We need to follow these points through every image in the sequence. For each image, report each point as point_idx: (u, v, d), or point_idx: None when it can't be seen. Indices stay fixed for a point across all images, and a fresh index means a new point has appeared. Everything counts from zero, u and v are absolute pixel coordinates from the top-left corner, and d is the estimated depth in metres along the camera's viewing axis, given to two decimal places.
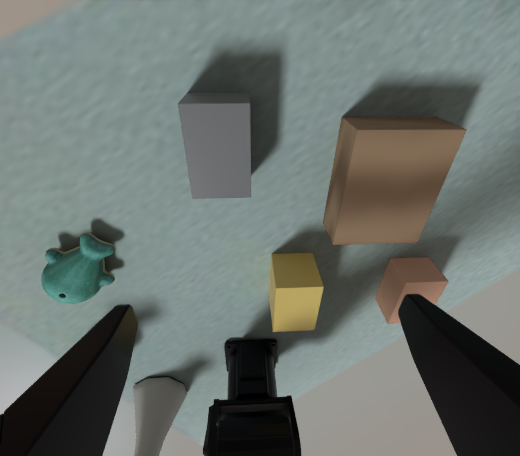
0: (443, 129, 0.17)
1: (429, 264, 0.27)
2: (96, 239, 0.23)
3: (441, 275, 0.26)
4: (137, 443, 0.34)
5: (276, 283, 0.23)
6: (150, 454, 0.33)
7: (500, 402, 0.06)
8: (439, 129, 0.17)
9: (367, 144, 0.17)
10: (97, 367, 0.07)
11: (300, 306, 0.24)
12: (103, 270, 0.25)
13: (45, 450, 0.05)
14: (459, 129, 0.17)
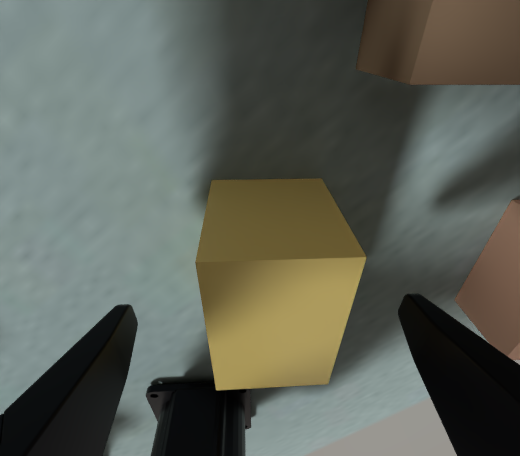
0: None
1: None
2: None
3: None
4: None
5: (201, 247, 0.07)
6: None
7: (500, 402, 0.06)
8: None
9: None
10: (96, 367, 0.07)
11: (286, 325, 0.08)
12: None
13: (45, 450, 0.05)
14: None
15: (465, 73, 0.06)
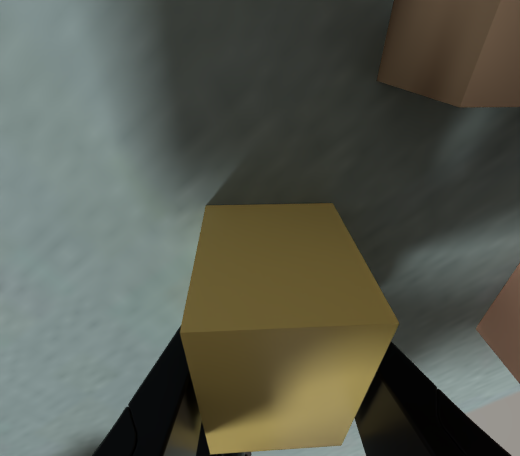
0: None
1: None
2: None
3: None
4: None
5: (189, 307, 0.05)
6: None
7: (392, 409, 0.06)
8: None
9: None
10: None
11: (295, 393, 0.06)
12: None
13: (173, 442, 0.05)
14: None
15: None
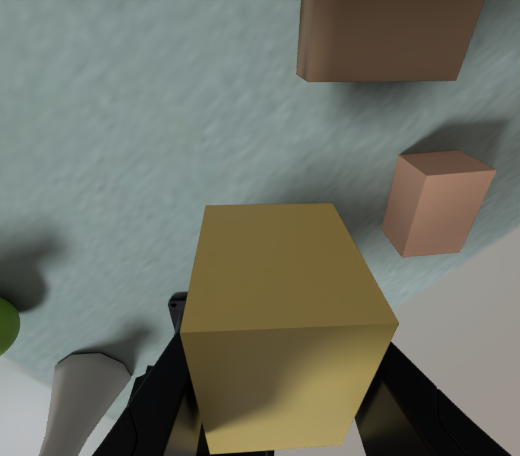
0: None
1: (461, 156, 0.17)
2: None
3: (483, 165, 0.16)
4: (44, 442, 0.24)
5: (189, 307, 0.05)
6: None
7: (392, 409, 0.06)
8: None
9: None
10: None
11: (295, 393, 0.06)
12: None
13: (174, 442, 0.05)
14: None
15: (331, 76, 0.13)
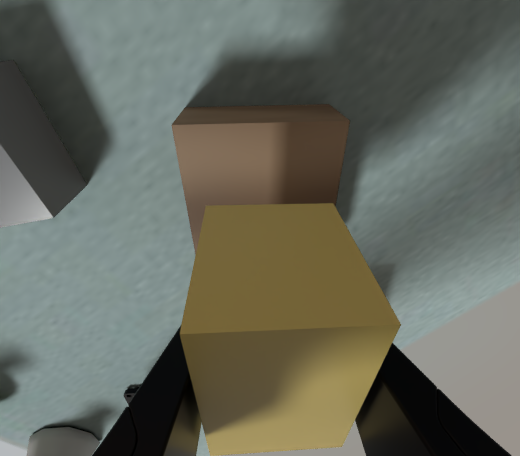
0: (312, 121, 0.11)
1: None
2: None
3: None
4: None
5: (189, 308, 0.05)
6: None
7: (392, 409, 0.06)
8: (306, 121, 0.11)
9: (197, 147, 0.11)
10: None
11: (295, 394, 0.06)
12: None
13: (174, 442, 0.05)
14: (339, 120, 0.11)
15: None
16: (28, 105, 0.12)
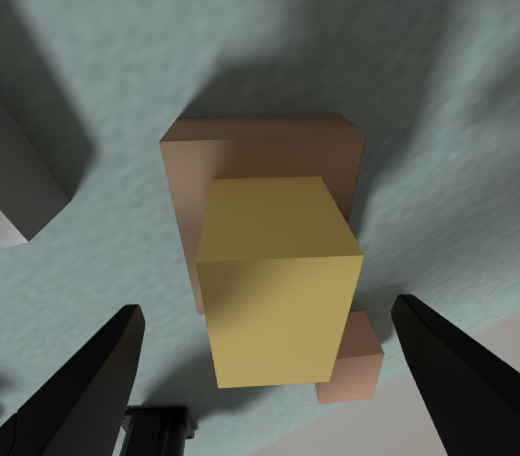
0: (322, 135, 0.09)
1: (363, 323, 0.19)
2: None
3: (376, 343, 0.18)
4: None
5: (201, 246, 0.07)
6: None
7: (489, 403, 0.06)
8: (315, 136, 0.09)
9: (189, 165, 0.10)
10: (107, 367, 0.07)
11: (287, 323, 0.08)
12: None
13: (58, 449, 0.05)
14: (352, 134, 0.10)
15: None
16: None
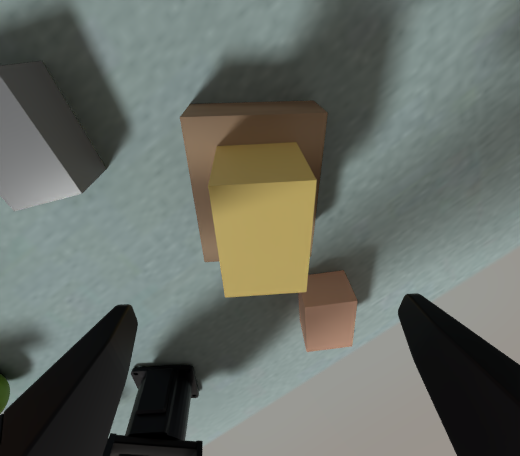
0: (296, 113, 0.13)
1: (341, 279, 0.23)
2: None
3: (351, 293, 0.21)
4: None
5: (211, 179, 0.11)
6: None
7: (500, 402, 0.06)
8: (291, 113, 0.13)
9: (201, 135, 0.13)
10: (96, 368, 0.07)
11: (270, 236, 0.12)
12: None
13: (45, 450, 0.05)
14: (318, 112, 0.13)
15: None
16: (55, 98, 0.14)
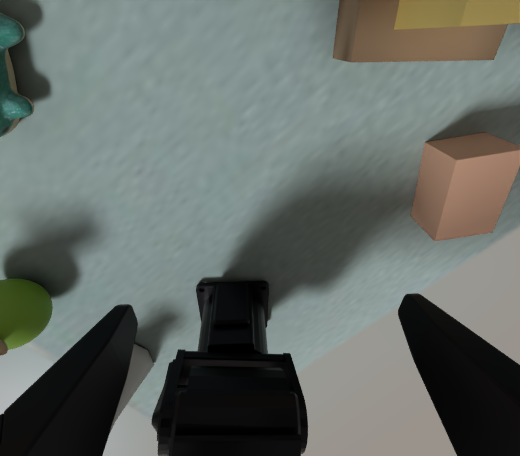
0: None
1: (489, 138, 0.18)
2: None
3: (512, 145, 0.17)
4: None
5: None
6: None
7: (500, 402, 0.06)
8: None
9: None
10: (96, 368, 0.07)
11: None
12: (10, 86, 0.15)
13: (45, 450, 0.05)
14: None
15: (374, 56, 0.13)
16: None
